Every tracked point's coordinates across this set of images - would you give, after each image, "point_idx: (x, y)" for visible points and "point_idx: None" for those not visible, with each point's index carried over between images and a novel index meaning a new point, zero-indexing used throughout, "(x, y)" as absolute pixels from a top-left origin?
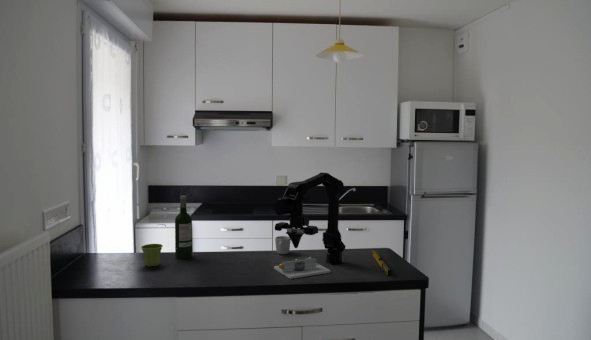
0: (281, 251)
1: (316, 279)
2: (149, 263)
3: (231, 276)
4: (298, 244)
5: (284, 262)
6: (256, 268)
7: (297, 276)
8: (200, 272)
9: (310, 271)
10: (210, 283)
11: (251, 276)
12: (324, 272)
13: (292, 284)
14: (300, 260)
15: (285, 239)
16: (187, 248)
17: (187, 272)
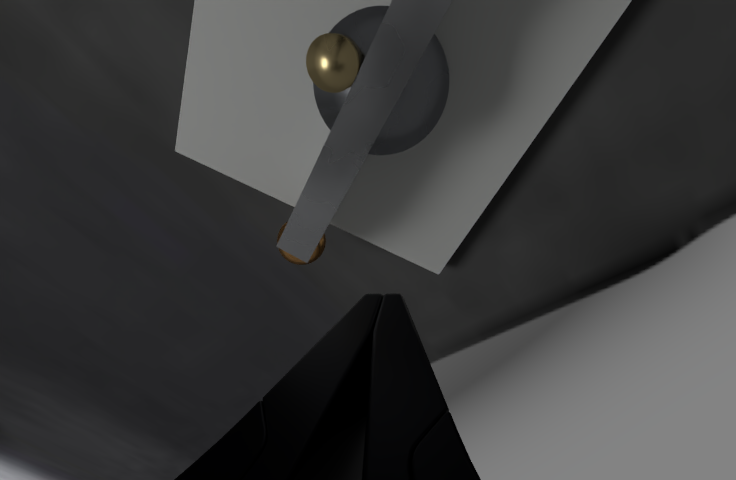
0: None
1: (641, 158)
2: None
3: (178, 371)
4: (419, 341)
5: (306, 245)
6: (123, 219)
7: (471, 222)
8: (63, 387)
9: (525, 53)
10: (207, 447)
11: (235, 334)
12: None
13: (507, 328)
14: (388, 75)
15: None
16: None
17: (43, 404)
